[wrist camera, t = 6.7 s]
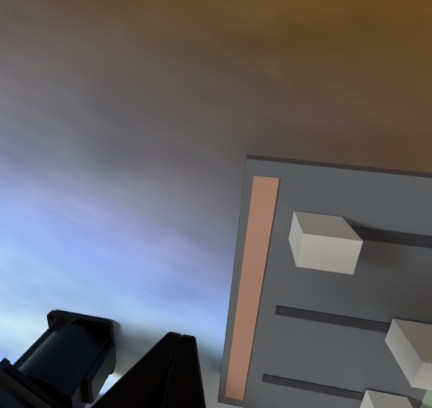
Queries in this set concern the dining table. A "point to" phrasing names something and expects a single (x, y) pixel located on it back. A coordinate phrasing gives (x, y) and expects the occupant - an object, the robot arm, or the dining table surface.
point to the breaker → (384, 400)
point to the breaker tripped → (324, 243)
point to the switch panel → (325, 287)
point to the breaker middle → (412, 351)
